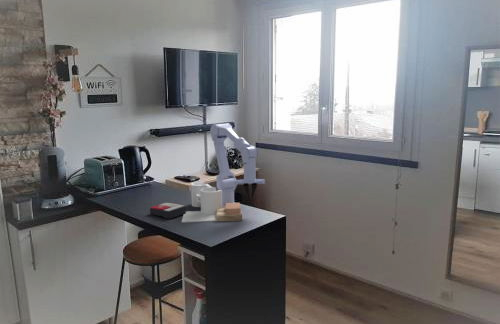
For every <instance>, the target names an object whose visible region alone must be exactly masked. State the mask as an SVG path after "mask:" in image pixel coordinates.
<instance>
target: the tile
mask: <svg viewBox="0 0 500 324" xmlns="http://www.w3.org/2000/svg"><path fill="white" fill-rule="evenodd" d="M240 206H241V202H235V203H226V214H239V213H241V212H242V209H241V208H242V207H240Z"/></svg>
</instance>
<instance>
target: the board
mask: <svg viewBox="0 0 500 324" xmlns="http://www.w3.org/2000/svg"><path fill="white" fill-rule="evenodd" d="M240 207H241V205H240ZM241 208H242V207H241ZM233 221H234V222H235V221H236V222H237V221H238V222H239V221H243V212H242V211H241V213H239V214H226V206H222V208H219V209H217V221H216V222H233Z"/></svg>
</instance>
